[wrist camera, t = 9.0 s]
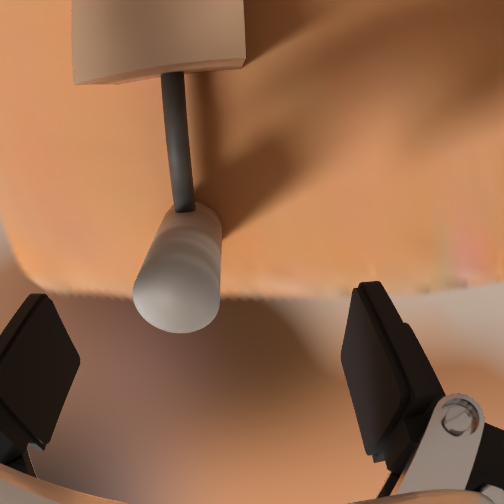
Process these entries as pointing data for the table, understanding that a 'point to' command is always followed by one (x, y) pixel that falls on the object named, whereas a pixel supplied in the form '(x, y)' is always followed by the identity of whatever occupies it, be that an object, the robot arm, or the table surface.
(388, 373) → the robot arm
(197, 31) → the tan block with knob
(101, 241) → the table surface
